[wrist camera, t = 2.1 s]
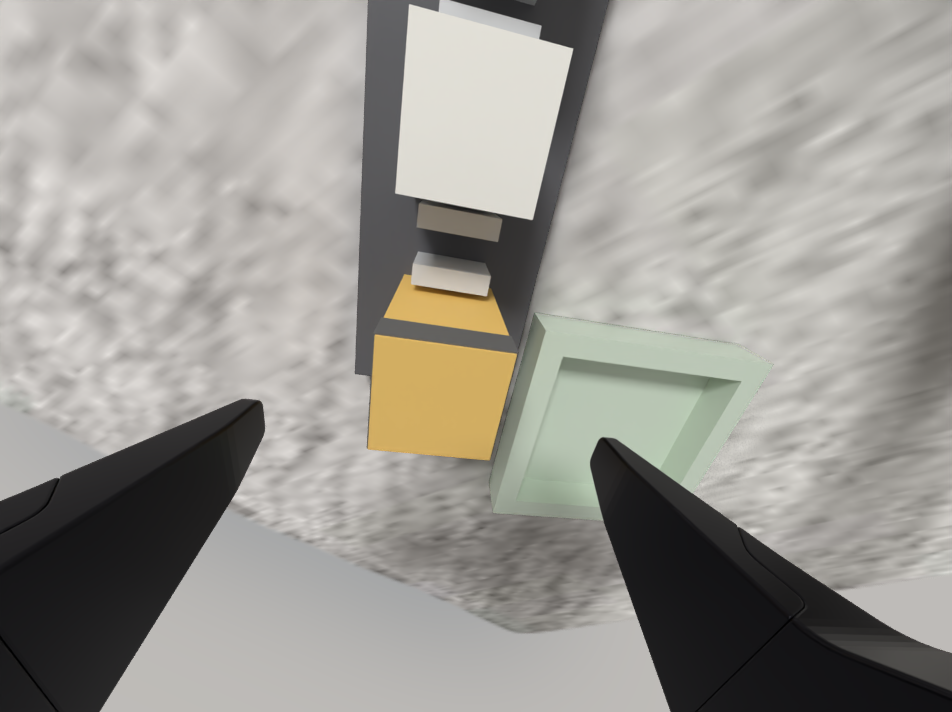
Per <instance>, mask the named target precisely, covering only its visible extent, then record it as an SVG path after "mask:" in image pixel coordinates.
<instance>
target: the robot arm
mask: <svg viewBox="0 0 952 712" xmlns="http://www.w3.org/2000/svg"><path fill="white" fill-rule="evenodd" d="M264 432H265V421H264V411H263V404H262V402H261V401H259V400H252V399H241V400H238V401H236V402H233V403H231V404H229V405H226V406H224V407H222V408H219V409H217V410H215V411H212V412H210V413H208V414H205V415H203V416H201V417H198V418H196V419H193V420H191V421H189V422H186V423H184V424H182V425H179V426H177V427H175V428H172V429H170V430H168V431H165V432H163V433H161V434H158V435H156V436H153V437H151V438H149V439H146V440H144V441H142V442H139V443H137V444H135V445H132V446H130V447H128V448H125V449H123V450H121V451H118V452H116V453H113V454H111V455H109V456H106V457H104V458H102V459H99V460H97V461H95V462H92V463H90V464H88V465H85V466H83V467H81V468H78V469H76V470H74V471H71V472H69V473H66V474H64V475H62V476H61V477H60V479H59V478H54V479H52V480H50V481H47V482H45V483H43V484H40V485H38V486H36V487H34V488H31V489H29V490H26V491H24V492H22V493H19V494H17V495H14V496H12V497H9V498H7V499H4V500H2V501H0V712H100V710H101V709H102V707H103V705H104V704H105V702H106V701H107V699H108V697H109V696H110V694H111V693H112V691H113V689H114V688H115V686H116V684H117V683H118V681H119V680H120V678H121V677H122V675H123V673H124V672H125V670H126V668H127V667H128V665H129V664H130V662H131V660H132V659H133V657H134V656H135V654H136V652H137V651H138V649H139V648H140V646H141V644H142V643H143V641H144V639H145V638H146V636H147V635H148V633H149V632H150V630H151V628H152V627H153V625H154V624H155V622H156V620H157V619H158V617H159V616H160V614H161V612H162V611H163V609H164V608H165V606H166V604H167V603H168V601H169V599H170V598H171V596H172V594H173V593H174V592H175V590H176V588H177V587H178V585H179V583H180V582H181V580H182V579H183V577H184V575H185V574H186V572H187V570H188V569H189V567H190V566H191V564H192V563H193V561H194V559H195V558H196V556H197V555H198V553H199V551H200V550H201V548H202V547H203V545H204V543H205V542H206V540H207V539H208V537H209V535H210V534H211V532H212V531H213V529H214V527H215V526H216V524H217V522H218V521H219V519H220V518H221V516H222V515H223V513H224V511H225V510H226V508H227V507H228V505H229V503H230V502H231V500H232V498H233V497H234V495H235V493H236V492H237V490H238V488H239V486H240V484H241V482H242V480H243V478H244V476H245V474H246V471H247V469H248V467H249V465H250V463H251V461H252V459H253V457H254V455H255V453H256V451H257V448H258V446H259V444H260V442H261V440H262V438H263V436H264ZM590 469H591V473H592V477H593V481H594V486H595V490H596V494H597V498H598V502H599V506H600V510H601V514H602V518H603V521H604V524H605V527H606V530H607V532H608V535H609V538H610V541H611V544H612V547H613V550H614V552H615V555H616V558H617V561H618V564H619V567H620V569H621V572H622V575H623V578H624V581H625V584H626V586H627V589H628V592H629V595H630V598H631V601H632V604H633V606H634V609H635V612H636V615H637V618H638V621H639V623H640V626H641V629H642V632H643V635H644V638H645V640H646V643H647V646H648V649H649V652H650V655H651V657H652V660H653V663H654V666H655V669H656V672H657V675H658V677H659V680H660V683H661V686H662V689H663V692H664V694H665V697H666V700H667V703H668V706H669V709H670V711H671V712H952V653H950V652H946V651H943V650H940V649H937V648H934V647H931V646H929V645H926V644H923V643H921V642H918V641H916V640H914V639H912V638H910V637H908V636H905V635H904V634H902V633H900V632H898V631H896V630H894V629H892V628H891V627H889V626H887V625H886V624H884V623H883V622H881V621H879V620H878V619H876V618H875V617H873V616H872V615H870V614H869V613H867V612H865V611H864V610H862V609H861V608H859V607H858V606H856V605H854V604H853V603H852V602H850V601H848V600H847V599H845V598H844V597H842V596H841V595H839V594H838V593H836V592H835V591H833V590H832V589H830V588H829V587H827V586H826V585H824V584H822V583H821V582H819V581H818V580H816V579H815V578H813V577H812V576H810V575H809V574H807V573H806V572H804V571H803V570H801V569H800V568H798V567H797V566H795V565H794V564H792V563H791V562H789V561H788V560H786V559H785V558H783V557H782V556H780V555H779V554H777V553H776V552H774V551H773V550H771V549H770V548H769V547H767V546H766V545H764V544H763V543H761V542H760V541H759V540H757V539H756V538H754V537H753V536H751V535H750V534H749V533H747V532H746V531H745V530H743V529H742V528H740V527H737V525H736V524H735V523H733V522H732V521H730V520H729V519H728V518H726V517H725V516H723V515H722V514H721V513H719V512H718V511H716V510H715V509H714V508H712V507H711V506H709V505H708V504H707V503H705V502H704V501H702V500H701V499H700V498H698V497H697V496H695V495H694V494H693V493H691V492H690V491H688V490H687V489H686V488H684V487H683V486H681V485H680V484H679V483H677V482H676V481H674V480H673V479H672V478H670V477H669V476H667V475H666V474H665V473H663V472H662V471H660V470H659V469H658V468H656V467H655V466H653V465H652V464H651V463H649V462H648V461H646V460H645V459H644V458H642V457H641V456H639V455H638V454H637V453H635V452H634V451H632V450H631V449H630V448H628V447H627V446H625V445H624V444H623V443H621V442H620V441H618V440H617V439H615V438H608V437H601V438H600V439H599V440H598V442H597V444H596V447H595V449H594V451H593V454H592V456H591V459H590Z"/></svg>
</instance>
